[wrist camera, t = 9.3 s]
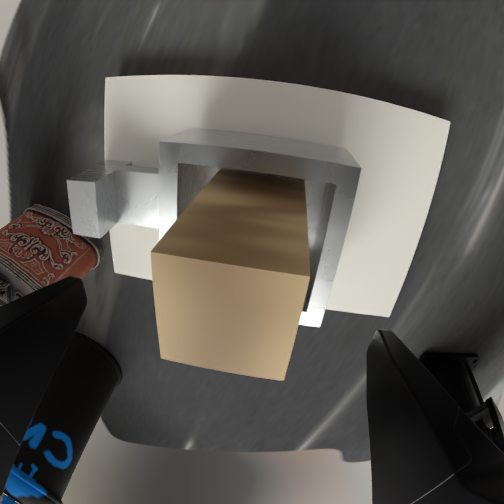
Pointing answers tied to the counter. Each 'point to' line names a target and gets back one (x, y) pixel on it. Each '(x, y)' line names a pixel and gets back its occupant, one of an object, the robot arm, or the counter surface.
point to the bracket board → (301, 128)
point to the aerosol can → (62, 424)
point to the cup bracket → (203, 170)
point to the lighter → (43, 252)
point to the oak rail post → (234, 276)
